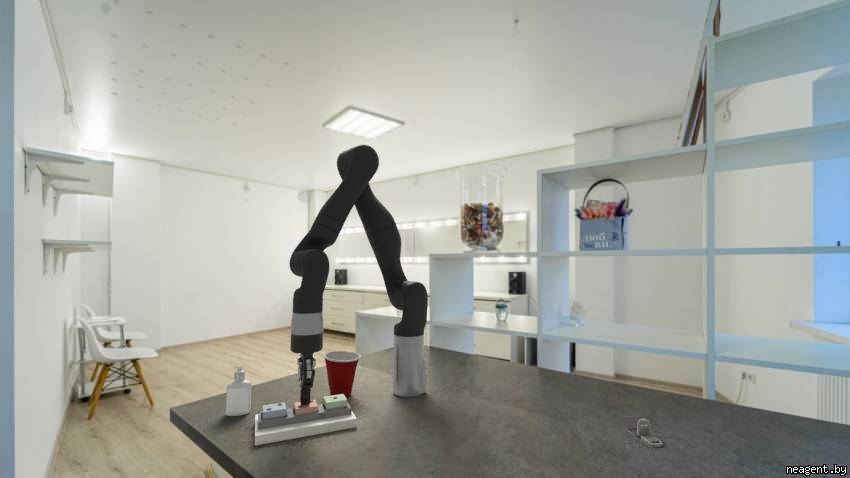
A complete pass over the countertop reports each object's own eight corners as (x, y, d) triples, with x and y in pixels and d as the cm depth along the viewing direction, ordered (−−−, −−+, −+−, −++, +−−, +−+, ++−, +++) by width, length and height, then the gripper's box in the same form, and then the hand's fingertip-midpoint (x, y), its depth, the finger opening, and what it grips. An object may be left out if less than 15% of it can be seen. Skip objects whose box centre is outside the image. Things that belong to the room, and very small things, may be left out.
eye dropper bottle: (241, 418, 93) (243, 369, 94) (222, 415, 94) (224, 367, 95) (253, 411, 97) (254, 364, 98) (234, 409, 99) (236, 363, 99)
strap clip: (664, 448, 80) (664, 427, 80) (651, 448, 79) (650, 428, 80) (637, 429, 88) (637, 411, 88) (625, 430, 88) (625, 412, 88)
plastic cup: (355, 403, 103) (356, 359, 104) (317, 402, 104) (318, 358, 104) (363, 389, 114) (364, 349, 115) (329, 389, 114) (329, 349, 115)
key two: (285, 408, 90) (285, 401, 90) (286, 415, 86) (286, 408, 86) (262, 411, 88) (262, 404, 88) (262, 419, 84) (262, 411, 84)
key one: (343, 399, 95) (343, 393, 95) (347, 406, 91) (347, 399, 91) (323, 402, 93) (323, 396, 93) (326, 409, 89) (326, 402, 89)
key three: (315, 405, 92) (315, 398, 93) (317, 412, 88) (317, 405, 89) (293, 408, 90) (294, 401, 91) (295, 415, 86) (295, 408, 86)
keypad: (345, 408, 99) (345, 395, 99) (356, 427, 88) (356, 411, 88) (255, 423, 90) (255, 408, 90) (254, 445, 79) (255, 428, 79)
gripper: (327, 334, 86) (325, 411, 85) (319, 325, 98) (317, 392, 97) (293, 336, 83) (290, 416, 82) (288, 327, 95) (286, 396, 94)
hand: (305, 403), depth 89 cm, fingers closed
